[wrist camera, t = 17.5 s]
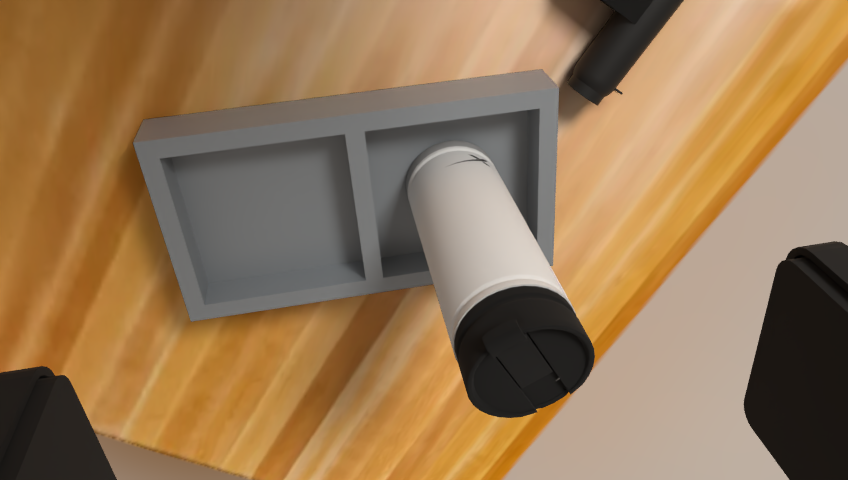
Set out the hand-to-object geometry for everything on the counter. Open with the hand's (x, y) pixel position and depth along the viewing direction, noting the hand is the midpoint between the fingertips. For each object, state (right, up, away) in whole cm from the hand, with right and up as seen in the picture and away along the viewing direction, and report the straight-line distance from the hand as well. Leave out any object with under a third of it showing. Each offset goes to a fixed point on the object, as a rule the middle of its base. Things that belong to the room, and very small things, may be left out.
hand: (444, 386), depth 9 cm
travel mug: (+1, +6, +39) cm, 39 cm away
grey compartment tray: (-5, +6, +39) cm, 40 cm away
